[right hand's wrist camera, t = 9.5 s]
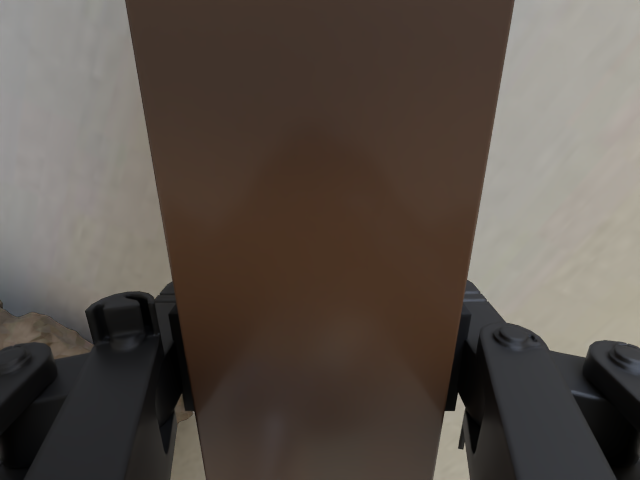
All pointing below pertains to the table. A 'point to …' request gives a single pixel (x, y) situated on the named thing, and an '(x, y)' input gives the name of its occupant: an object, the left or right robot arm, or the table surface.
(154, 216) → the table surface
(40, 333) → the stone
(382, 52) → the walnut plank
